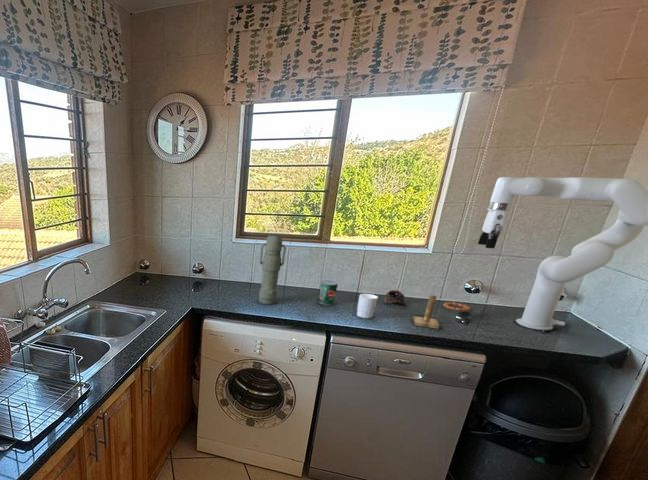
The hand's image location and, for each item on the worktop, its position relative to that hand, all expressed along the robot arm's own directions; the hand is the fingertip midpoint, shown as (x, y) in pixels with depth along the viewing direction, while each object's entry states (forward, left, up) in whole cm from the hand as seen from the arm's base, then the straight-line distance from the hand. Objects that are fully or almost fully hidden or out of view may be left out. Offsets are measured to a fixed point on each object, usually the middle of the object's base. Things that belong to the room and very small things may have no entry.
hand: (485, 246), depth 182 cm
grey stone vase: (+89, +22, -34) cm, 98 cm away
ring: (+1, -10, -33) cm, 34 cm away
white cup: (+43, +23, -34) cm, 59 cm away
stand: (+18, +22, -34) cm, 44 cm away
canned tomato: (+61, +9, -34) cm, 71 cm away
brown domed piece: (+29, -6, -34) cm, 45 cm away
